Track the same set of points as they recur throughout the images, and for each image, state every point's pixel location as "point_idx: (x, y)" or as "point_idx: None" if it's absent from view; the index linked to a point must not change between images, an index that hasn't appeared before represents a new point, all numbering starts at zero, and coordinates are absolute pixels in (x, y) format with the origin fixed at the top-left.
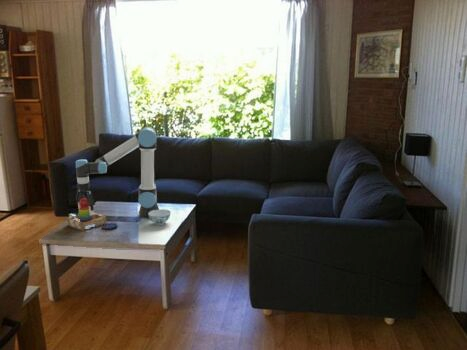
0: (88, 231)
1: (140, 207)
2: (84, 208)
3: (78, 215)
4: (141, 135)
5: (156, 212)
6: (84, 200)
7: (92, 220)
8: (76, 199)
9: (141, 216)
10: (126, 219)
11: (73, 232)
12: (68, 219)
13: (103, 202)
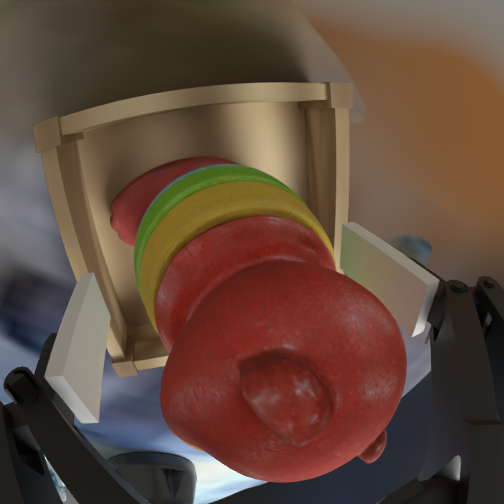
0: (27, 163)
1: (158, 490)
2: (170, 285)
3: (343, 205)
4: None
5: (62, 487)
6: (225, 444)
7: (72, 256)
8: (489, 293)
9: (131, 455)
10: (137, 417)
11: (91, 48)
12: (324, 83)
13: (428, 369)
